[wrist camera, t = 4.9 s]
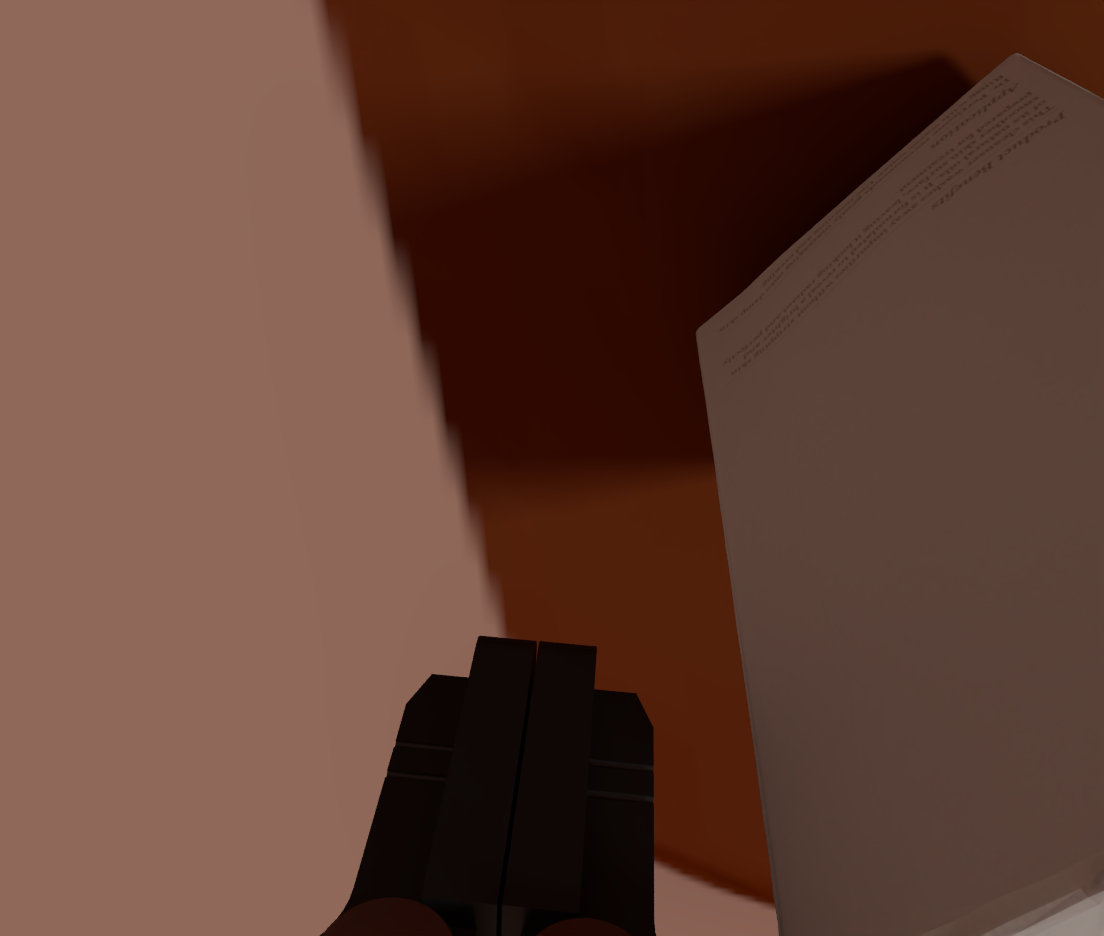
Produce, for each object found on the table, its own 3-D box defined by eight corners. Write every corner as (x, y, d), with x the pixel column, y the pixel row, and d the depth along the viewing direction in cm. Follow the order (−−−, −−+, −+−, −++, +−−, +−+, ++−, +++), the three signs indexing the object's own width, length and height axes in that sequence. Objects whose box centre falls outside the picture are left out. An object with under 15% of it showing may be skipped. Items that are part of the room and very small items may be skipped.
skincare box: (852, 478, 23) (1096, 1242, 11) (677, 316, 21) (744, 1042, 9) (1197, 237, 19) (2160, 1004, 7) (1027, 9, 17) (1988, 554, 5)
